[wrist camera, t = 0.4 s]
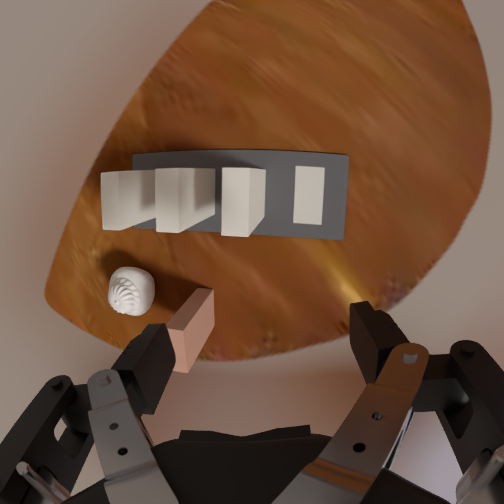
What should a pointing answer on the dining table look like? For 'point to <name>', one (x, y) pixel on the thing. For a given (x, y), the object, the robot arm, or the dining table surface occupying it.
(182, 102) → the dining table surface
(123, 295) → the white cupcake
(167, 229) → the ivory domino
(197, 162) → the domino mat
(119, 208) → the ivory domino
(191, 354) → the terracotta domino
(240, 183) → the ivory domino
